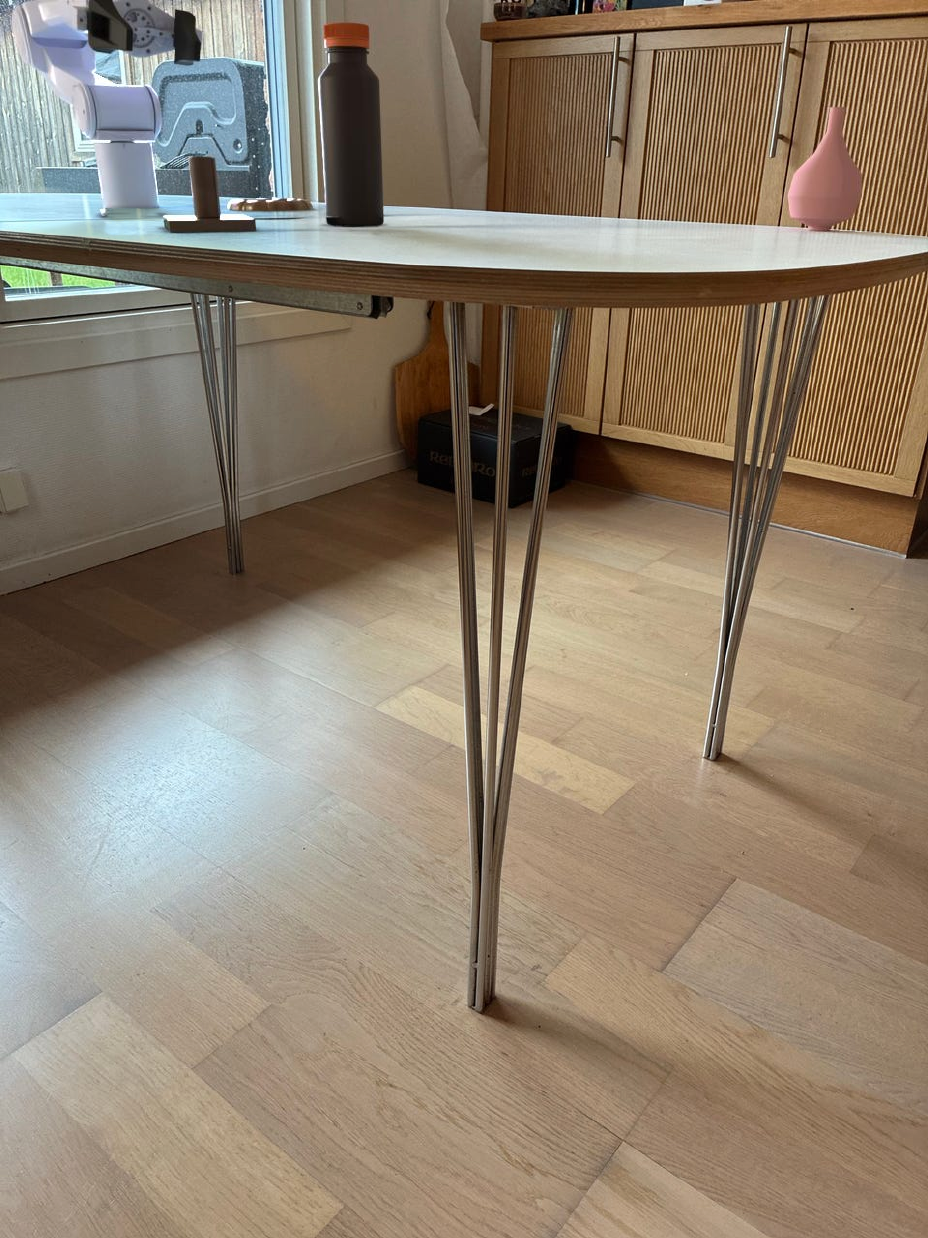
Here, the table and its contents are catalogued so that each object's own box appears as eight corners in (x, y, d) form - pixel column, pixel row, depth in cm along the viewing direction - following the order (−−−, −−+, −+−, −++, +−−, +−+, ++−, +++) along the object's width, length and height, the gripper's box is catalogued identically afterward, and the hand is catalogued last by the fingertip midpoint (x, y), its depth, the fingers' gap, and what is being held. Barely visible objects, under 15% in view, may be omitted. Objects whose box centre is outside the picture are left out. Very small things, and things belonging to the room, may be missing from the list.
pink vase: (827, 226, 109) (846, 109, 103) (870, 231, 102) (893, 105, 97) (769, 228, 107) (785, 107, 101) (809, 232, 100) (829, 104, 95)
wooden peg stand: (164, 227, 106) (155, 156, 103) (245, 225, 109) (238, 156, 106) (170, 232, 99) (160, 156, 95) (256, 230, 101) (249, 156, 98)
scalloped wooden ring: (224, 216, 127) (222, 198, 126) (304, 214, 130) (302, 197, 129) (234, 220, 117) (232, 201, 116) (319, 219, 121) (318, 200, 120)
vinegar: (323, 223, 113) (311, 27, 104) (379, 222, 114) (372, 29, 105) (329, 227, 107) (318, 19, 98) (388, 226, 108) (382, 22, 100)
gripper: (59, -35, 106) (97, -10, 98) (184, -10, 114) (228, 15, 106) (60, 36, 110) (97, 66, 102) (181, 56, 118) (223, 84, 111)
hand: (164, 45), depth 105 cm, fingers open, 7 cm apart
